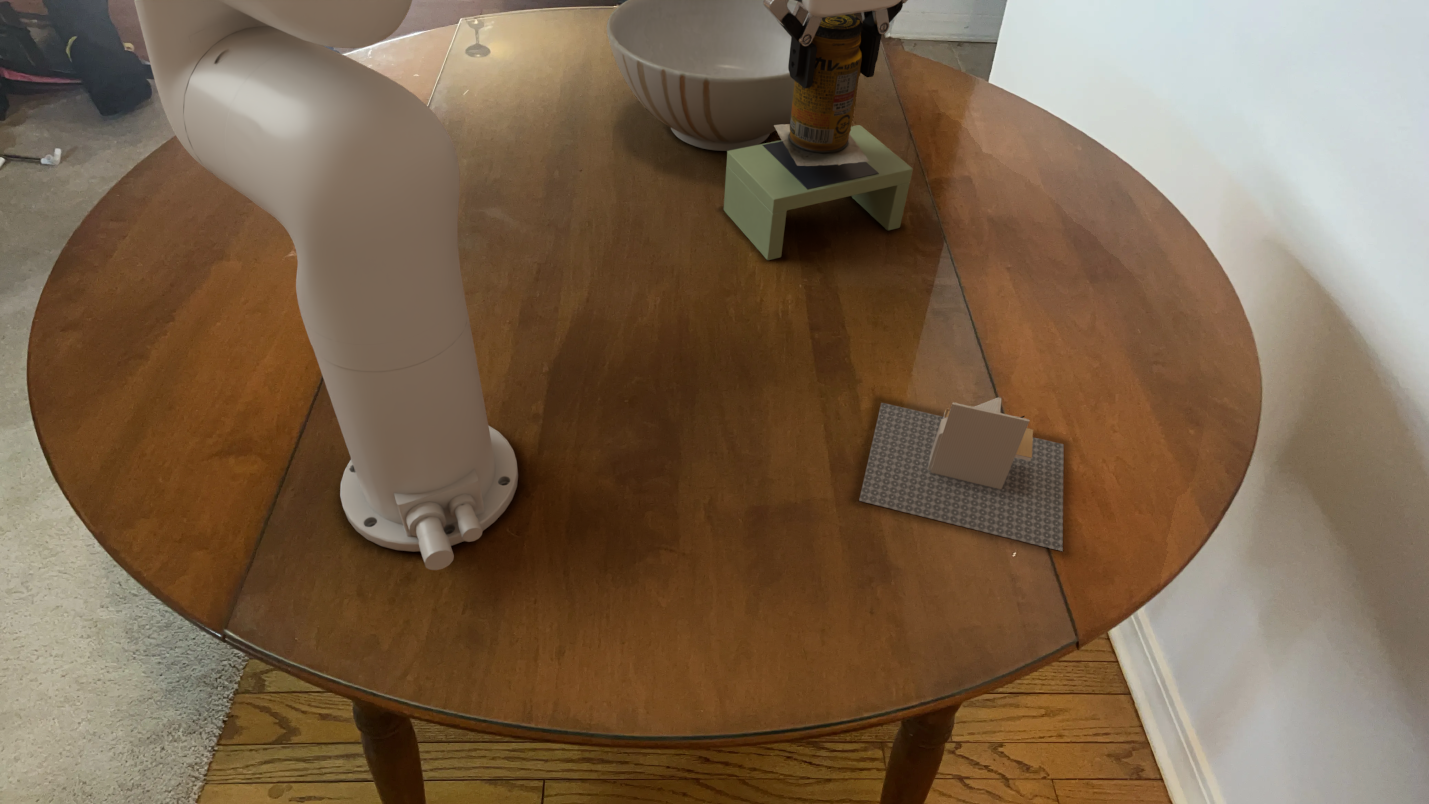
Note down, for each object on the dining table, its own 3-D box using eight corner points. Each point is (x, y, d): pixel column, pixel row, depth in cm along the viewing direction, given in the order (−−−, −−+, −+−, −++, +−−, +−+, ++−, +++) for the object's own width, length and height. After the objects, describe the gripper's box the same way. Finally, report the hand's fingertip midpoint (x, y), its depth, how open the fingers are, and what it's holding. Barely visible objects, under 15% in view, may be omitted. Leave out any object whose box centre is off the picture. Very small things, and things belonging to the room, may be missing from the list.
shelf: (900, 227, 95) (913, 167, 91) (767, 260, 90) (774, 198, 85) (850, 182, 102) (860, 123, 97) (723, 210, 96) (727, 149, 91)
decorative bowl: (630, 193, 98) (628, 86, 89) (595, 84, 116) (590, -13, 108) (861, 173, 103) (880, 71, 95) (792, 73, 122) (803, -21, 113)
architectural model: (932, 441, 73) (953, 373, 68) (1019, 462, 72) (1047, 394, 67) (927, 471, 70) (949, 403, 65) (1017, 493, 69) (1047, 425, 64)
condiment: (841, 122, 93) (858, 3, 85) (868, 163, 87) (889, 39, 79) (773, 127, 92) (783, 7, 84) (796, 168, 86) (810, 43, 78)
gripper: (791, -119, 67) (769, 108, 80) (976, -135, 73) (929, 79, 86) (745, -145, 72) (732, 74, 84) (922, -158, 78) (885, 48, 90)
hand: (831, 75), depth 85 cm, fingers closed on condiment, 6 cm apart
